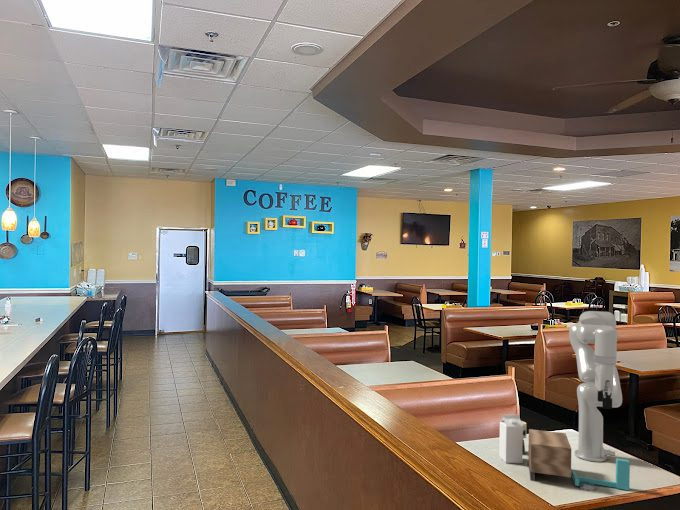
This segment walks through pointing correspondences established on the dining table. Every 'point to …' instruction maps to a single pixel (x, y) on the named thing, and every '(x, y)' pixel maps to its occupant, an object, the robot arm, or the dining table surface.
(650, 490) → the dining table surface
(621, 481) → the scraper
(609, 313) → the robot arm
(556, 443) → the cabinet
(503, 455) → the milk carton
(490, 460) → the dining table surface
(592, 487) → the grey flat disc
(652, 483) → the dining table surface
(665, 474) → the dining table surface
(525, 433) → the character mug
